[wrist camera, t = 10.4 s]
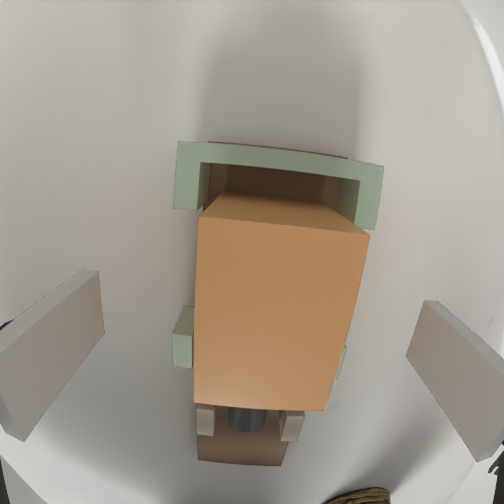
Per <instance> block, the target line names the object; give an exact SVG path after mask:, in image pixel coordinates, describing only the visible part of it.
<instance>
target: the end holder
mask: <svg viewBox="0 0 504 504" xmlns="http://www.w3.org/2000/svg"><path fill="white" fill-rule="evenodd" d="M211 163H221V164H233V165H245V166H255V167H265V168H274V169H282V170H291V171H299V172H306V173H314V174H321V175H328V176H334V177H341V185H340V192H339V200H338V207H337V213H339V214H340V215H342V216H343V217H345V218H346V219H348V220H349V221H350V222H352V223H353V224H355V225H356V226H358V227H359V228H363V229H371V230H375V224H376V219H377V213H378V206H379V200H380V193H381V186H382V179H383V172H384V166H381V165H376V164H371V163H366V162H360V161H355V160H349V159H343V158H337V157H331V156H325V155H318V154H311V153H304V152H297V151H289V150H281V149H273V148H263V147H254V146H243V145H231V144H218V143H202V142H181V141H178V148H177V160H176V173H175V187H174V204H173V209H184V210H196V211H197V210H198V209H199V208H200V207H201V206H202V205H203V204H205V203H206V202H207V200H208V188H209V176H210V164H211ZM346 349H347V348H346V345H345V344H344V348H343V351H342V355H341V358H340V361H339V365H338V368H337V371H336V374H335V378H334V379H337V378H338V375H339V372H340V369H341V365H342V362H343V359H344V356H345V352H346ZM172 358H173V366H178V367H185V368H192V366H193V363H194V307H186V306H184V308H183V310H182V312H181V314H180V316H179V319H178V321H177V323H176V325H175V327H174V330H173V332H172Z"/></svg>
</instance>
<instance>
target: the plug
mask: <svg viewBox="0 0 504 504" xmlns="http://www.w3.org/2000/svg"><path fill="white" fill-rule="evenodd" d="M369 238H370V235H369V234H368V233H366V232H365V231H363V230H362V229H360V228H359V227H358V226H356V225H355V224H353V223H352V222H350V221H349V220H348V219H346V218H345V217H343V216H342V215H340V214H339V213H337V212H336V211H334V210H333V209H331V208H330V207H328V206H327V205H325V204H324V203H322V202H315V201H307V200H299V199H291V198H282V197H273V196H264V195H254V194H244V193H234V192H222V193H221V194H220V195H219V196H218V197H217V198H216V199H215V200H214V202H213V203H212V204H211V205H210V206H209V207H208V208H207V209H206V210H205V211H204V212H203V213H202V214H201V215H200V216H199V220H198V237H197V256H196V278H195V308H194V402H196V403H203V404H211V405H220V406H229V415H228V421H229V423H230V425H231V426H232V427H233V428H234V429H236V430H238V431H241V432H255V431H258V430H259V429H261V428H262V427H263V425H264V423H265V418H266V413H267V409H269V410H295V411H324V408H325V405H326V402H327V399H328V396H329V393H330V390H331V387H332V384H333V381H334V378H335V374H336V371H337V368H338V365H339V361H340V358H341V355H342V351H343V348H344V344H345V341H346V337H347V333H348V330H349V326H350V322H351V318H352V315H353V311H354V307H355V303H356V298H357V294H358V290H359V286H360V281H361V277H362V272H363V268H364V263H365V258H366V253H367V248H368V243H369Z"/></svg>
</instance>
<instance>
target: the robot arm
mask: <svg viewBox="0 0 504 504" xmlns="http://www.w3.org/2000/svg"><path fill="white" fill-rule="evenodd" d="M104 333H105V332H104V323H103V315H102V305H101V294H100V281H99V271H91V270H84V269H82V270H81V271H80V272H78V273H77V274H75V275H74V276H72V277H71V278H70V279H68V280H67V281H65V282H64V283H63V284H61V285H60V286H58V287H57V288H56V289H54V290H53V291H51V292H50V293H49V294H47V295H46V296H45V297H43V298H42V299H41V300H39V301H38V302H36V303H35V304H34V305H33V306H31V307H30V308H29V309H27V310H26V311H25V312H23V313H22V314H21V315H19V316H18V317H17V318H16V319H13V320H11V321H9V322H6V323H4V324H3V325H2V326H1V327H0V423H1V425H2V427H3V429H4V431H5V433H7V434H9V435H11V436H13V437H15V438H17V439H19V440H21V441H23V442H25V440H26V439H27V437H28V436H29V434H30V433H31V431H32V430H33V429H34V427H35V426H36V424H37V423H38V421H39V420H40V418H41V417H42V416H43V414H44V413H45V411H46V410H47V408H48V407H49V406H50V404H51V403H52V401H53V400H54V399H55V397H56V396H57V395H58V393H59V392H60V390H61V389H62V388H63V386H64V385H65V384H66V382H67V381H68V380H69V378H70V377H71V376H72V374H73V373H74V372H75V370H76V369H77V368H78V366H79V365H80V364H81V362H82V361H83V360H84V359H85V357H86V356H87V355H88V353H89V352H90V351H91V349H92V348H93V347H94V346H95V344H96V343H97V342H98V341H99V339H100V338H101V337H102V336H103V334H104ZM406 358H407V359H408V360H409V362H410V363H411V364H412V366H413V367H414V369H415V370H416V371H417V373H418V374H419V376H420V377H421V379H422V380H423V381H424V383H425V384H426V386H427V387H428V389H429V390H430V391H431V393H432V394H433V396H434V397H435V399H436V400H437V402H438V403H439V405H440V406H441V408H442V409H443V411H444V412H445V414H446V415H447V417H448V418H449V420H450V421H451V423H452V424H453V426H454V427H455V429H456V430H457V432H458V433H459V435H460V437H461V438H462V440H463V441H464V443H465V444H466V446H467V448H468V449H469V451H470V452H471V454H472V456H473V457H474V459H475V461H476V462H479V461H482V460H484V459H487V458H489V457H491V456H492V455H493V454H494V453H495V452H496V450H497V449H498V448H499V446H500V445H501V444H503V445H504V359H503V358H502V357H501V356H500V355H499V354H498V353H496V352H495V351H494V350H493V349H492V348H491V347H490V346H489V345H488V344H487V343H486V342H484V341H483V340H482V339H481V338H480V337H479V336H478V335H477V334H476V333H474V332H473V331H472V330H471V329H470V328H469V327H468V326H466V325H465V324H464V323H463V322H462V321H461V320H460V319H458V318H457V317H456V316H455V315H454V314H453V313H451V312H450V311H449V310H448V309H447V308H445V307H444V306H443V305H442V304H441V303H439V302H438V301H424V302H423V306H422V309H421V312H420V316H419V319H418V322H417V325H416V328H415V331H414V334H413V337H412V340H411V343H410V346H409V349H408V351H407V354H406ZM496 466H499V468H498V469H497V470H496V471H495V473H494V474H495V475H498V476H497V483H496V489H495V495H494V500H493V504H504V451H503V452H502V453H501V455H500V456H499V457H498V458H497V460H496V461H495V462H494V463H493V465H492V466H491V467H490V469H489V471H488V473H491V472H492V470H493V469H494V468H495V467H496ZM0 504H10V502H9V498H8V494H7V490H6V485H5V481H4V476H3V471H2V466H1V460H0Z"/></svg>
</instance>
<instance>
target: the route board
mask: <svg viewBox="0 0 504 504" xmlns="http://www.w3.org/2000/svg"><path fill="white" fill-rule="evenodd" d="M209 143H218V144H231V145H243V146H254V147H263V148H273V149H281V150H289V151H297V152H304V153H311V154H318V155H325V156H331V157H337V158H343V159H348V158H345V157H339V156H333V155H327V154H321V153H314V152H307V151H300V150H292V149H284V148H276V147H267V146H257V145H247V144H236V143H223V142H209ZM340 185H341V177H334V176H328V175H321V174H314V173H306V172H299V171H291V170H282V169H274V168H265V167H255V166H245V165H233V164H221V163H211V164H210V176H209V188H208V200H207V202H206V203H205V204H203V212H204V211H205V210H206V209H207V208H208V207H209V206H210V205H211V204H212V203H213V202H214V200H215V199H216V198H217V197H218V196H219V195H220V194H221V193H222V192H234V193H244V194H254V195H264V196H273V197H282V198H291V199H299V200H307V201H315V202H322V203H324V204H325V205H327V206H328V207H330V208H331V209H333V210H334V211H336V212H337V207H338V200H339V192H340ZM228 415H229V406H220V405H211V404H203V403H197V407H196V427H197V443H198V460H203V461H211V462H219V463H230V464H242V465H259V466H281V464H282V461H283V458H284V455H285V452H286V449H287V445H288V442H289V441H297V439H298V436H299V433H300V430H301V427H302V424H303V421H304V417H305V415H304V411H295V410H269V409H267V413H266V418H265V423H264V425H263V427H262V428H261V429H259V430H258V431H255V432H241V431H238V430H236V429H234V428H233V427H232V426H231V425H230V423H229V421H228Z"/></svg>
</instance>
